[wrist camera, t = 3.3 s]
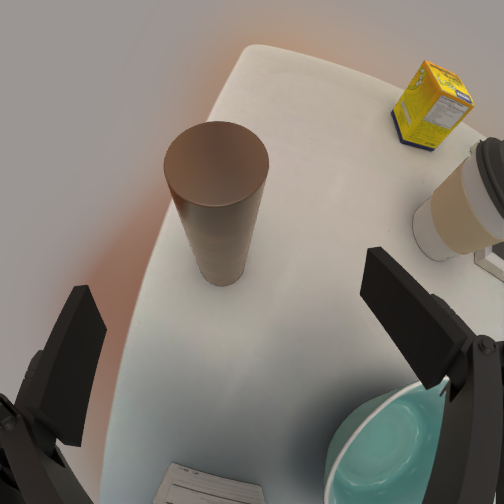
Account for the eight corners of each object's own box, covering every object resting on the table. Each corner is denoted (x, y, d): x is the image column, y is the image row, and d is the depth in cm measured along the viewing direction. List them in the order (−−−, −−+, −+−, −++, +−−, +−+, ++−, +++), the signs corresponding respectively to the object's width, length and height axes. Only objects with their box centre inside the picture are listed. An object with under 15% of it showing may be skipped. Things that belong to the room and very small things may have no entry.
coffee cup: (409, 267, 27) (516, 214, 13) (399, 191, 30) (478, 113, 15) (463, 271, 28) (557, 230, 13) (452, 203, 30) (529, 144, 16)
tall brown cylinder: (207, 291, 25) (176, 220, 10) (194, 249, 26) (155, 135, 11) (250, 278, 26) (285, 190, 10) (236, 236, 26) (249, 112, 11)
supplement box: (421, 121, 34) (457, 74, 24) (433, 152, 32) (476, 106, 22) (389, 111, 34) (423, 58, 23) (399, 143, 32) (442, 89, 22)
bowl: (268, 429, 22) (286, 468, 14) (404, 338, 25) (459, 334, 17) (336, 524, 18) (364, 564, 11) (446, 441, 22) (493, 456, 14)
